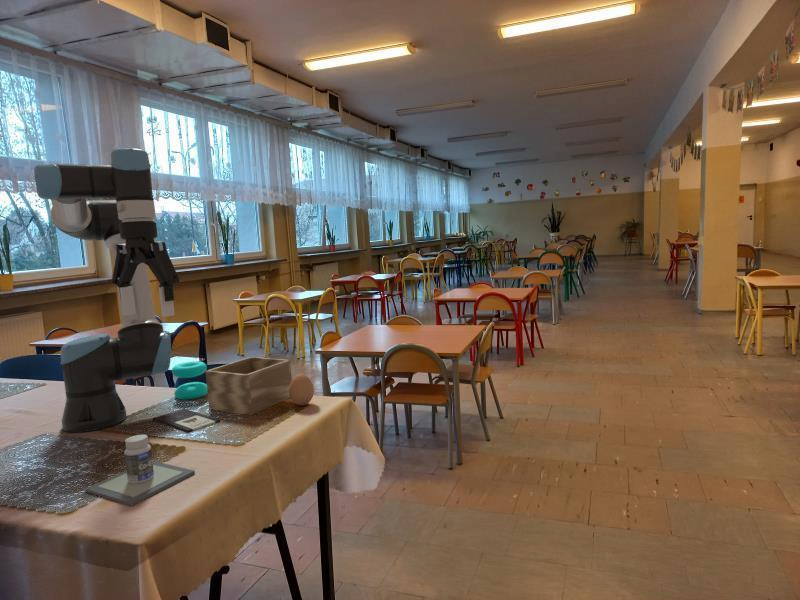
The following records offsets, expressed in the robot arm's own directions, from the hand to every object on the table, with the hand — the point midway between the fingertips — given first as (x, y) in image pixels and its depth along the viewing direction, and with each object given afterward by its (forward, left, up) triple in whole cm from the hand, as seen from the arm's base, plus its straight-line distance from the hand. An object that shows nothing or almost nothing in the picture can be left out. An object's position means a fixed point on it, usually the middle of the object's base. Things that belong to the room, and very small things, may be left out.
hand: (148, 315), depth 121 cm
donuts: (-27, +31, -31) cm, 51 cm away
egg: (+13, +35, -31) cm, 48 cm away
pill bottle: (+13, -15, -30) cm, 36 cm away
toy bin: (-3, +32, -31) cm, 44 cm away
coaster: (+13, -15, -31) cm, 37 cm away
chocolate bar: (-9, +14, -31) cm, 36 cm away
